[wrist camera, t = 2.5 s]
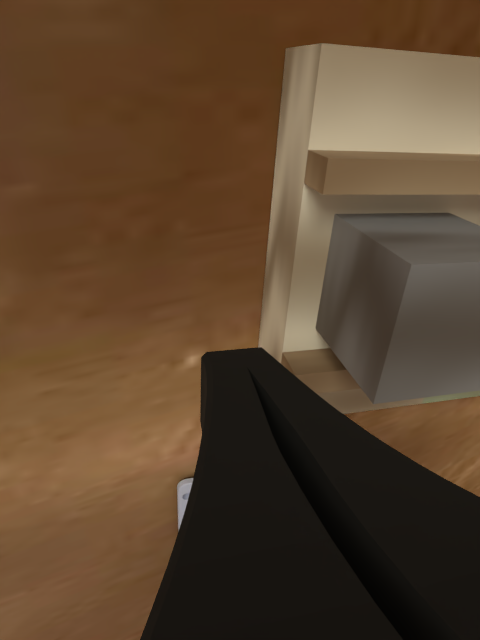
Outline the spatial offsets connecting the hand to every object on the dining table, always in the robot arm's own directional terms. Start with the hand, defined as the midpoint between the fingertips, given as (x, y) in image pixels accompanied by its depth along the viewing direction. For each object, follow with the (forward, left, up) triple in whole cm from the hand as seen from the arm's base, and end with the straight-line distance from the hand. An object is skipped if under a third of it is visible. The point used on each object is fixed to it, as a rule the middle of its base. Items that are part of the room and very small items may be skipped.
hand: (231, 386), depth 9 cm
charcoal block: (0, -7, -6) cm, 9 cm away
